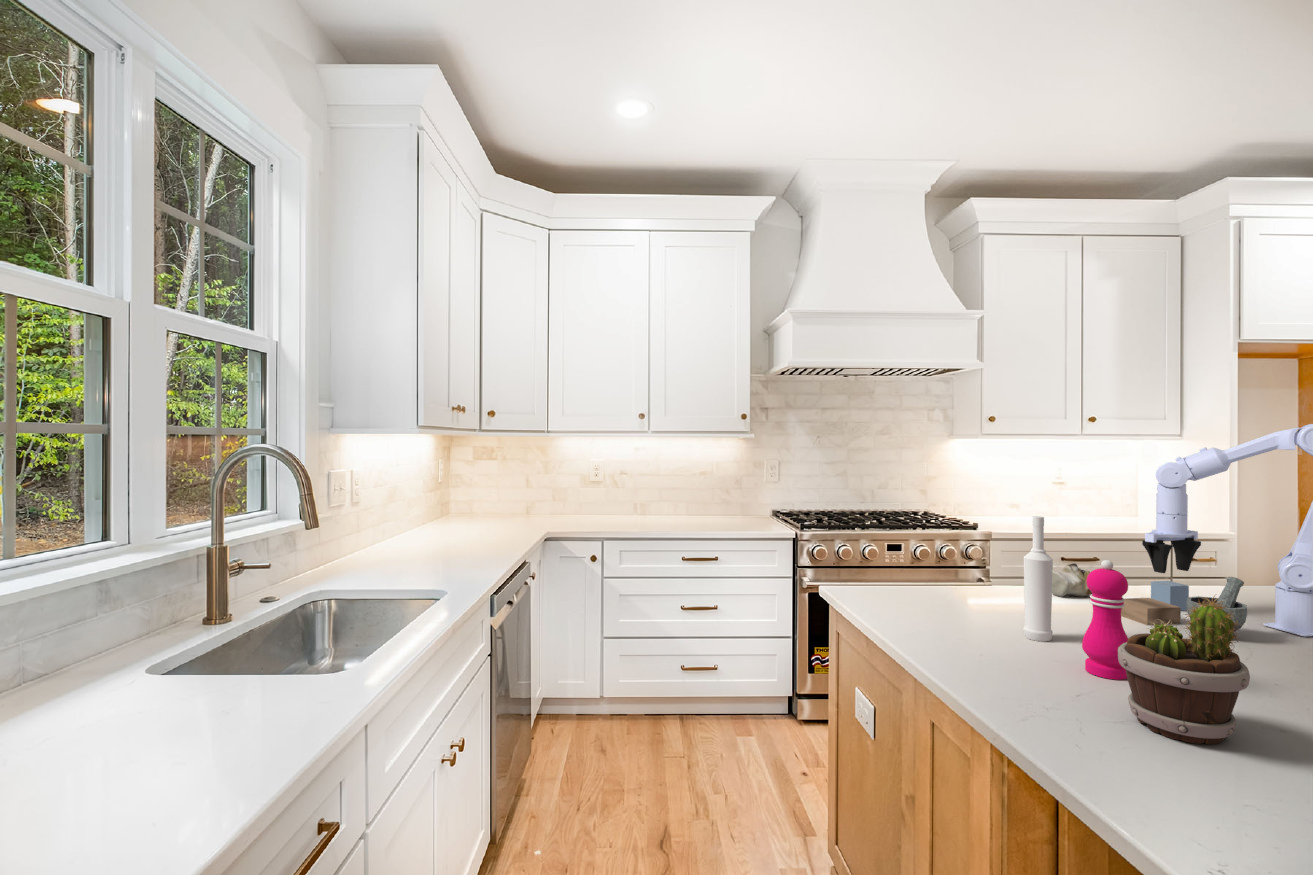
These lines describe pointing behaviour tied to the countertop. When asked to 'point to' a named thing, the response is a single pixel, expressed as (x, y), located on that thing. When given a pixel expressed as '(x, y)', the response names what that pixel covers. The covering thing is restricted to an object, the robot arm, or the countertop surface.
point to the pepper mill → (1105, 622)
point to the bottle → (1038, 587)
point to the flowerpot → (1186, 676)
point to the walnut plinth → (1151, 611)
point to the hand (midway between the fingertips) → (1171, 571)
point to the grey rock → (1070, 581)
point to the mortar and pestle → (1226, 602)
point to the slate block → (1170, 593)
